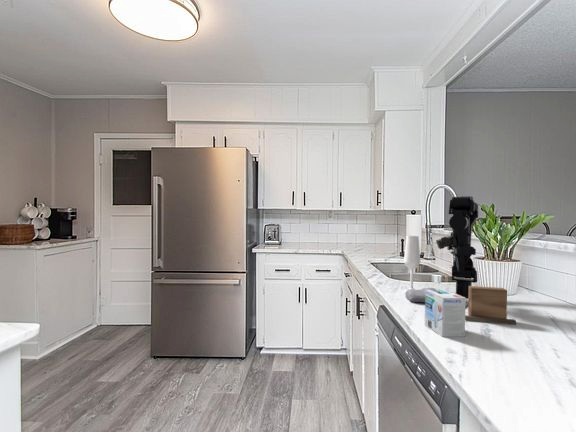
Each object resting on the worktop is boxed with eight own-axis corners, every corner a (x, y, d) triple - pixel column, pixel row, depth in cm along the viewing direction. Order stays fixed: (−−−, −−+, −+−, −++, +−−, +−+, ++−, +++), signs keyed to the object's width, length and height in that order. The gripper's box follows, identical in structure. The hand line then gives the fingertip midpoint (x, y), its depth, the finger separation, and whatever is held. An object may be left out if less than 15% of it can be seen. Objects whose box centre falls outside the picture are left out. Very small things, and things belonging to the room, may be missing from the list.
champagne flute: (417, 294, 145) (418, 236, 144) (401, 292, 148) (402, 236, 148) (421, 292, 150) (422, 236, 150) (405, 289, 154) (406, 235, 154)
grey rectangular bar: (464, 319, 111) (464, 315, 111) (514, 323, 108) (514, 319, 108) (465, 320, 110) (465, 316, 110) (516, 324, 106) (516, 320, 106)
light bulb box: (423, 324, 105) (424, 289, 105) (445, 324, 106) (445, 289, 106) (442, 337, 94) (443, 297, 94) (466, 337, 95) (466, 297, 95)
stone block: (444, 307, 129) (435, 296, 139) (444, 295, 128) (435, 285, 138) (410, 308, 130) (404, 297, 140) (410, 296, 129) (404, 286, 139)
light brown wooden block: (468, 316, 115) (468, 285, 115) (502, 318, 113) (502, 287, 112) (471, 319, 111) (471, 288, 111) (506, 322, 109) (507, 290, 109)
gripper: (434, 228, 143) (433, 266, 143) (442, 230, 125) (441, 274, 125) (464, 229, 140) (463, 268, 140) (476, 231, 122) (475, 276, 122)
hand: (460, 271), depth 132 cm, fingers closed
